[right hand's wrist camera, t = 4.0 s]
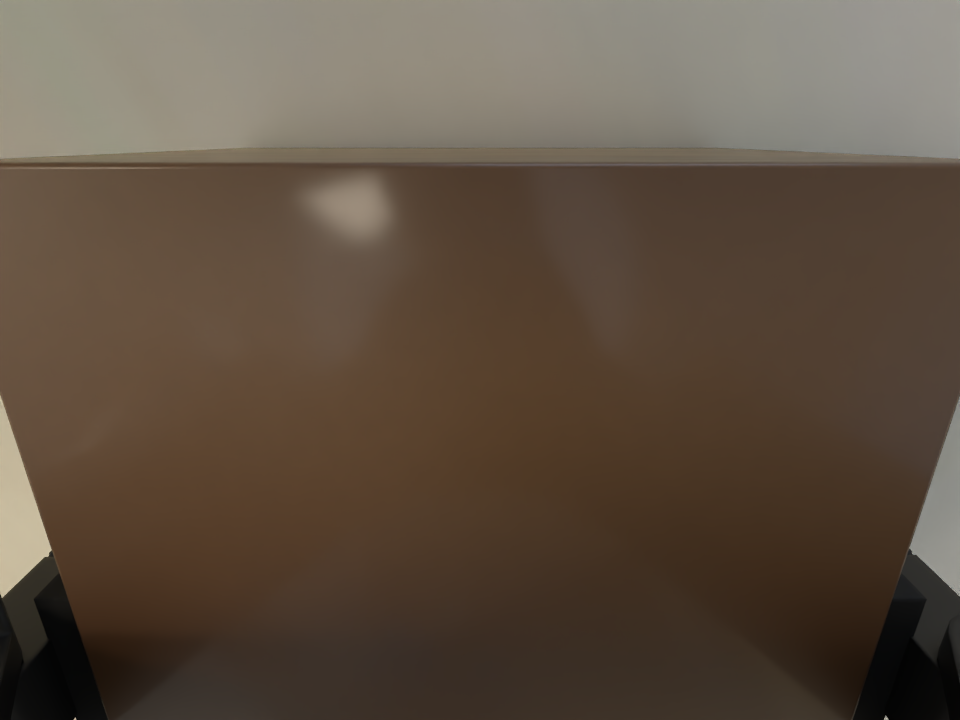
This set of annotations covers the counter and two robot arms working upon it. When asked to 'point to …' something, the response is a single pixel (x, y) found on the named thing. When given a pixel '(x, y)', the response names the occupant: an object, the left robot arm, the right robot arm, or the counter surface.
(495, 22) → the counter surface
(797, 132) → the counter surface
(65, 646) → the right robot arm
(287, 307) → the thick board
